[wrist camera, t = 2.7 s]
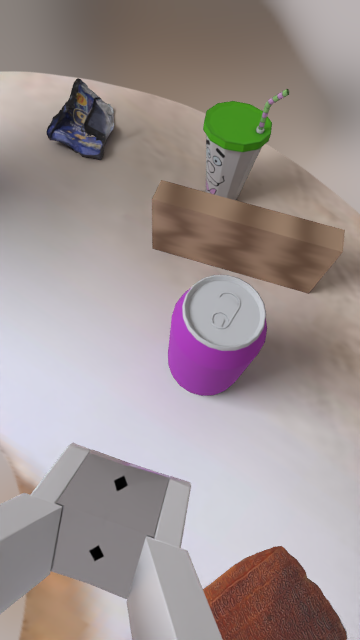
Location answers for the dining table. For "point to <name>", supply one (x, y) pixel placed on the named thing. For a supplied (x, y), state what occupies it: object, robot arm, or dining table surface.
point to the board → (243, 237)
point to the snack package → (83, 122)
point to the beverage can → (215, 334)
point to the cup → (234, 143)
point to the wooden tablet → (271, 601)
